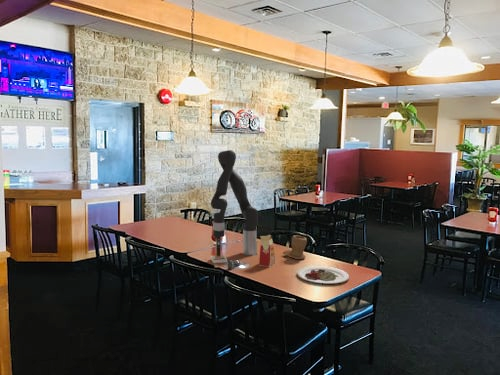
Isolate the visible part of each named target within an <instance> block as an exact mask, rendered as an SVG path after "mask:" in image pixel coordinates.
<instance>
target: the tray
mask: <svg viewBox="0 0 500 375" xmlns="http://www.w3.org/2000/svg"><path fill="white" fill-rule="evenodd" d="M210 261H211V262H212V263H213V264H218V263H219V264H220V263H228V258H227V257H226V255H225V254H223V255H222V254H221V257H220V258H217V257H215V255H211V256H210Z"/></svg>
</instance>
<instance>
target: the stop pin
mask: <svg viewBox="0 0 500 375" xmlns="http://www.w3.org/2000/svg"><path fill="white" fill-rule="evenodd" d="M217 248H220V247H216V244H215V246H214V249H215V250H214V252H215V253H214V256H215V257H217V258H220V257H221V255H222V249H221V250H220V256H217V250H216V249H217Z"/></svg>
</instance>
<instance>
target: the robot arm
mask: <svg viewBox="0 0 500 375" xmlns="http://www.w3.org/2000/svg"><path fill="white" fill-rule="evenodd" d="M236 159H237V155H236V152H235V151H234V150H232V149H229V150H223V151H220V152H219V153H218V155H217V161H218V162H219V164H220V167H221V168H222V170H223V171H222V173H221V175H220V176H219V178H218V180H217V184H216V188H215V192H214V194H213V197H212V199H211V201H210V207H211V209H212V210H213V209H215V210H219V212H214V214H213V221H212V222H213V224H212V236H213V237H214V238H215V245H216V247H220V248H217V249H216V250H217V256H220V250H221V251H222V241H223V240H222V238H224V237H225V234H226V233H225V231H226V230H225V226H226V225H225V224H226V223H225V215H226V211H227V208H228V200H227V199H226V198H221V197H222V196H226V195H227V193H228V188H229V185H230V189H231V190H232V192H233V194H234V197H235V199H236V201H237V203H238V206H239V209H240V212H241V215H242V217H243V218H244V219H245V223H244V225H243V227H242V229H243V230H242V235H243V236H242V254H243V255H245V256H256V255H258V241H257V228H258V224H259V223H258V222H259V212H258V210H257V209H256V208H255V207H253V206H252V205H251V203H250V201H249V199H248V192H247V191H248V190H247V186H246V184H245V181H244V179H243V178H242V176H241V175H239V173H238V172H236V170H235V169H234V166H235V164H236Z"/></svg>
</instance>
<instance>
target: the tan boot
mask: <svg viewBox="0 0 500 375" xmlns="http://www.w3.org/2000/svg"><path fill="white" fill-rule="evenodd" d="M291 237H292V238H291V249H290V250H284V251H283V252H282V254H283V255H284V256H288V257H290V258H292V259H295V260H304V259H305V258H306V256H305V254H304V250H305V248H306V246H307V244H308V243H307V242H308V239H307V238H306V237H305V236H302V235H299V234H298V235H297V234H296V235H295V234H294V235H293V236H291Z"/></svg>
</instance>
